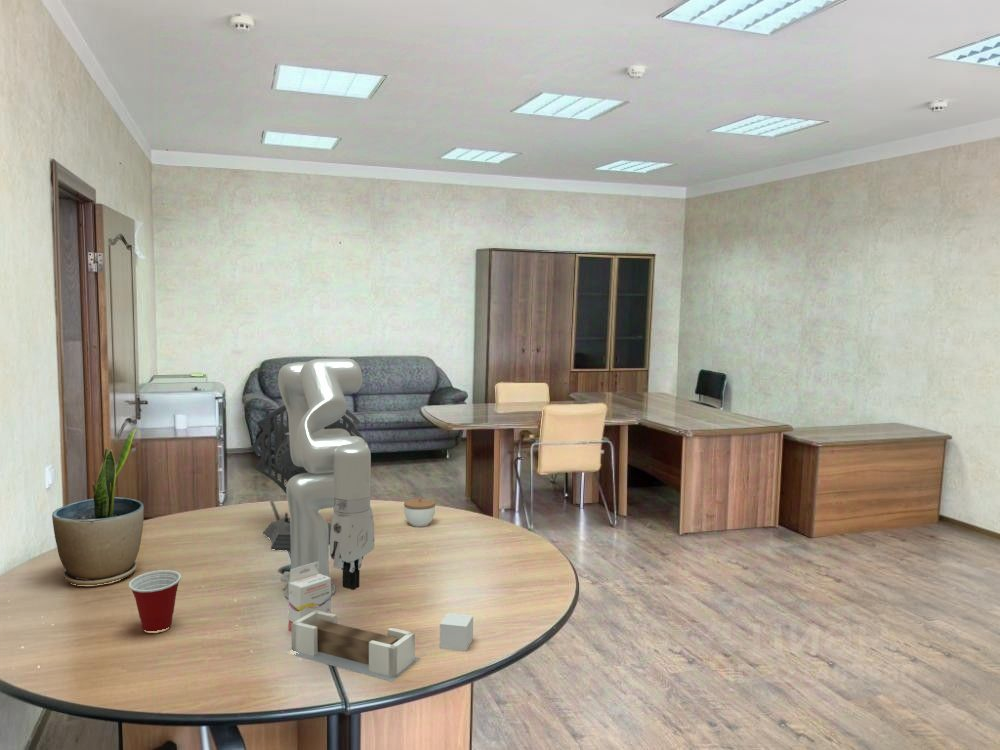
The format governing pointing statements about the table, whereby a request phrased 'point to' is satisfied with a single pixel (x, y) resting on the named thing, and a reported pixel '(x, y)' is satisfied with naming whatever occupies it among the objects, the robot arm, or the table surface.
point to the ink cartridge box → (308, 592)
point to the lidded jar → (419, 511)
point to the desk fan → (287, 465)
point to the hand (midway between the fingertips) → (350, 587)
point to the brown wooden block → (347, 641)
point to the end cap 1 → (308, 632)
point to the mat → (349, 664)
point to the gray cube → (456, 631)
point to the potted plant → (100, 529)
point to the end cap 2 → (392, 653)
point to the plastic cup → (155, 598)
